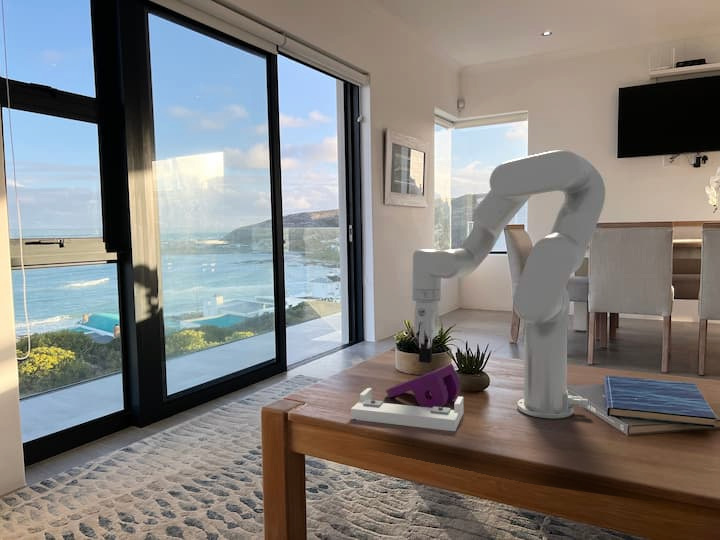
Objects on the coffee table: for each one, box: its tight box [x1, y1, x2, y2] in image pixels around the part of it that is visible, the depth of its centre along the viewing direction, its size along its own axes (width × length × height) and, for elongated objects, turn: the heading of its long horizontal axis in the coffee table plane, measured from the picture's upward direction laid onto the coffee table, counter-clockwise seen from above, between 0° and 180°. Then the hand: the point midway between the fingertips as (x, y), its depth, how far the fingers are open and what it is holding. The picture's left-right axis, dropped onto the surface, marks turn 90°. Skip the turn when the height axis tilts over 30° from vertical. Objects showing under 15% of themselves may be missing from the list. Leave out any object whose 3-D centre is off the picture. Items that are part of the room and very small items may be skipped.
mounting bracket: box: [385, 363, 462, 408], centre depth 130 cm, size 10×8×18 cm
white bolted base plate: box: [350, 387, 464, 432], centre depth 119 cm, size 24×12×4 cm, turn 70°
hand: (425, 361), depth 139 cm, fingers closed
